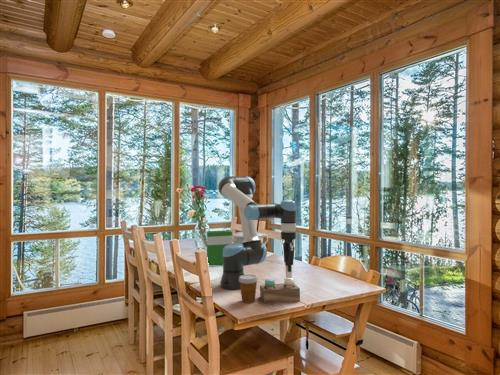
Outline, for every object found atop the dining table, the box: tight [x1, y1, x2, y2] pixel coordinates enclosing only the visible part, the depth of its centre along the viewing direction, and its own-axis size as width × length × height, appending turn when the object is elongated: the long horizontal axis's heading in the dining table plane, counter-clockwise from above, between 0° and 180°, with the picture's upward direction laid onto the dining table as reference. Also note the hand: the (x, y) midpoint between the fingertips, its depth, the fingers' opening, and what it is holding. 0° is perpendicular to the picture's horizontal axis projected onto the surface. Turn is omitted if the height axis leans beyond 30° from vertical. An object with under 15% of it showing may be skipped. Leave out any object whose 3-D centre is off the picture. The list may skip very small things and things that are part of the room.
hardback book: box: [206, 229, 233, 266], centre depth 249 cm, size 18×7×24 cm, turn 104°
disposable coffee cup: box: [239, 274, 259, 304], centre depth 169 cm, size 10×10×12 cm
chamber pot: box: [232, 231, 269, 245], centre depth 283 cm, size 28×28×21 cm
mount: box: [259, 282, 301, 304], centre depth 172 cm, size 10×18×6 cm, turn 100°
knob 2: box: [283, 277, 295, 288], centre depth 173 cm, size 5×5×9 cm
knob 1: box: [264, 278, 276, 289], centre depth 171 cm, size 5×5×9 cm
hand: (288, 277), depth 173 cm, fingers closed
